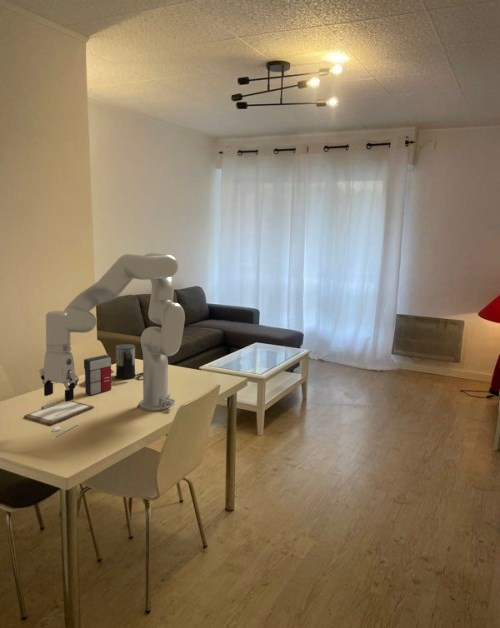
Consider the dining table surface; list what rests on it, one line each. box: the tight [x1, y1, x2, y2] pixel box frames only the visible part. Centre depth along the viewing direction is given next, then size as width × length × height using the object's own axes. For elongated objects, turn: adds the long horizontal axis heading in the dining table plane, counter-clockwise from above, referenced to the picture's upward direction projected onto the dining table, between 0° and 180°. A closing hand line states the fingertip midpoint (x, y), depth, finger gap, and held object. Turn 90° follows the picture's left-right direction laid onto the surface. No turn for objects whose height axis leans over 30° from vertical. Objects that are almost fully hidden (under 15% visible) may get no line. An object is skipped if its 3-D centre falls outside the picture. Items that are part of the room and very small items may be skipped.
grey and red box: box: [83, 354, 112, 396], centre depth 202 cm, size 11×4×15 cm, turn 143°
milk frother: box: [114, 343, 143, 380], centre depth 225 cm, size 14×16×15 cm
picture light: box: [51, 423, 80, 440], centre depth 164 cm, size 14×4×2 cm, turn 161°
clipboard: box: [23, 400, 95, 426], centre depth 179 cm, size 14×20×2 cm
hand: (58, 397), depth 162 cm, fingers open, 9 cm apart
